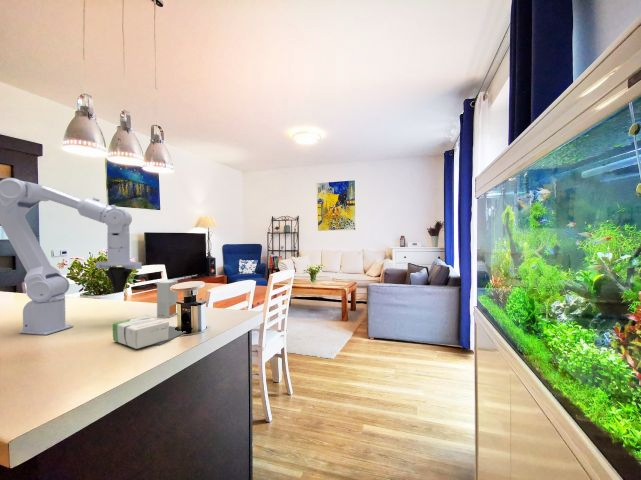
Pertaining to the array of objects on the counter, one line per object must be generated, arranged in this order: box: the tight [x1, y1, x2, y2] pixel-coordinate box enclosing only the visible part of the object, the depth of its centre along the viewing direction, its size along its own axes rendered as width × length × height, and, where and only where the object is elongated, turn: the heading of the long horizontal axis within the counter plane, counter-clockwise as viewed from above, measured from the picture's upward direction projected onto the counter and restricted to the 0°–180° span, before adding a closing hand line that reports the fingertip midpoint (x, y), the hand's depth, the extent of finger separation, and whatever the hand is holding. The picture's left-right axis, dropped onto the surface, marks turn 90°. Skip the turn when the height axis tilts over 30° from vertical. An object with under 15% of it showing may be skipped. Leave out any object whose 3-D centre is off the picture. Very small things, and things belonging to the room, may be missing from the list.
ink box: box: [112, 315, 170, 350], centre depth 79 cm, size 9×5×12 cm
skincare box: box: [156, 279, 179, 319], centre depth 105 cm, size 6×4×12 cm
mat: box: [151, 325, 187, 346], centre depth 85 cm, size 12×14×1 cm
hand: (119, 291), depth 94 cm, fingers closed
